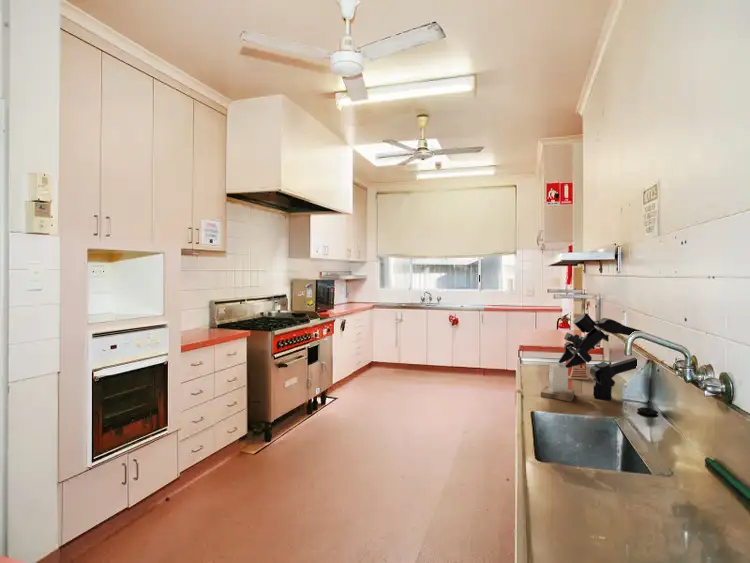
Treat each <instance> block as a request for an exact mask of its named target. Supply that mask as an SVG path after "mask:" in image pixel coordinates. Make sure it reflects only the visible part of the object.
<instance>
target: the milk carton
mask: <svg viewBox="0 0 750 563" xmlns="http://www.w3.org/2000/svg"><path fill="white" fill-rule="evenodd" d="M570 360H571V359H570ZM570 360H567V361H565V364H564V365H565V366H566V364H567V363H568V362H569V361H570ZM585 362H586V361H585ZM588 374H589V373H588V365H587V362H586V363H583V364H579V365H576V366H572V367H569V368H568V379H569V380H570V379H571V380H573V379H574V380H589V375H588Z"/></svg>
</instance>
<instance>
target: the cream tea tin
mask: <svg viewBox="0 0 750 563" xmlns="http://www.w3.org/2000/svg"><path fill="white" fill-rule="evenodd" d="M548 374H549V376H548V377H549V378H548V386H549V390H550V391H551V392H553V393H567V389H569V388H568V384H569V377H568V368H566V367H565V364H556V363H555V364H549V372H548Z"/></svg>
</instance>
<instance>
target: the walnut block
mask: <svg viewBox="0 0 750 563" xmlns="http://www.w3.org/2000/svg"><path fill="white" fill-rule="evenodd" d="M575 392H576V390H575V389H569V388H567V393H553V392H551V391H550V390H549V385H545V387H543V389H542V390H541V391H540V397H542V398H546V399H547V398H548V399H552V398H554V399H553V400H558V399H560V400H559V401H565V400H566V401H567V402H572V400H573V399H574V397H575V395H576V394H575Z"/></svg>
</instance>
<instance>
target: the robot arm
mask: <svg viewBox="0 0 750 563" xmlns="http://www.w3.org/2000/svg"><path fill="white" fill-rule="evenodd" d="M572 322H573V324H574V326H575V327H576V328H578V329H579V331H580V332H582V333H583V334H585V333H586V334H585V335H584V336H580V335H579V334H577V333H573V334H572V333H570V332H566V334H565V335H564V337H563V339H564V340H565V341H567V342H566V343H564V344H563V345H564V347H563V348H564V351H563V354H562V355H561V357H560V358H559V360H558V363H559V364H563V363H564V362H566V361H567V360H570V359H571V360H570V361H569V362H568V363H567V364H566V366H565V367H566V368H569V367H572V366H576V365H579V364H583V363H586V364H587V363H591V361H592V359H593V358H592V356H591V355H590V354H589V352H590V351H591V350H595V349H596V345H598V344H599V343H600V342H601V341H602V340H604V341H605V342H609V340H610V339H609V337H610V336H609V334H620V335H624V336H629V335H630V334H631V333H632V332H634V331H642V330H641V329H636V328H633V327H630V326H627V325H624V324H623V323H620V322H618V321H616V320H614V319H612V318H609V317H608V318H607V317H602V318H600V320H593V319H592V318H591V316H590V314H588V313H586V312H584V313H583V314H581V315H578V316H576V318H575V319H574V320H572ZM604 332H606V333H609V334H605V333H604ZM629 337H630V336H629ZM635 357H636V356H635ZM635 357H632V358H629V359H625V360H621V361H617V362H614V363H611V364H609V363H608V362H605V361H601V362H599V363H594V365H591V367H590V369H589V375H590V376H591V377H592V378H593V380H594V382H595V383H594V385H593V392H592V395H593V399H597V400H598V399H599V400H605V401H612V399H613V396H612V394H613V392H612V390H613V387H615V383H616V381H615V380H614V379H613V378H614V377H615V376H616V375H618V374H621V373H625V372H628V371H632V370H636V369H637V368H636V366H637V359H636V358H635ZM585 361H586V362H585Z"/></svg>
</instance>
